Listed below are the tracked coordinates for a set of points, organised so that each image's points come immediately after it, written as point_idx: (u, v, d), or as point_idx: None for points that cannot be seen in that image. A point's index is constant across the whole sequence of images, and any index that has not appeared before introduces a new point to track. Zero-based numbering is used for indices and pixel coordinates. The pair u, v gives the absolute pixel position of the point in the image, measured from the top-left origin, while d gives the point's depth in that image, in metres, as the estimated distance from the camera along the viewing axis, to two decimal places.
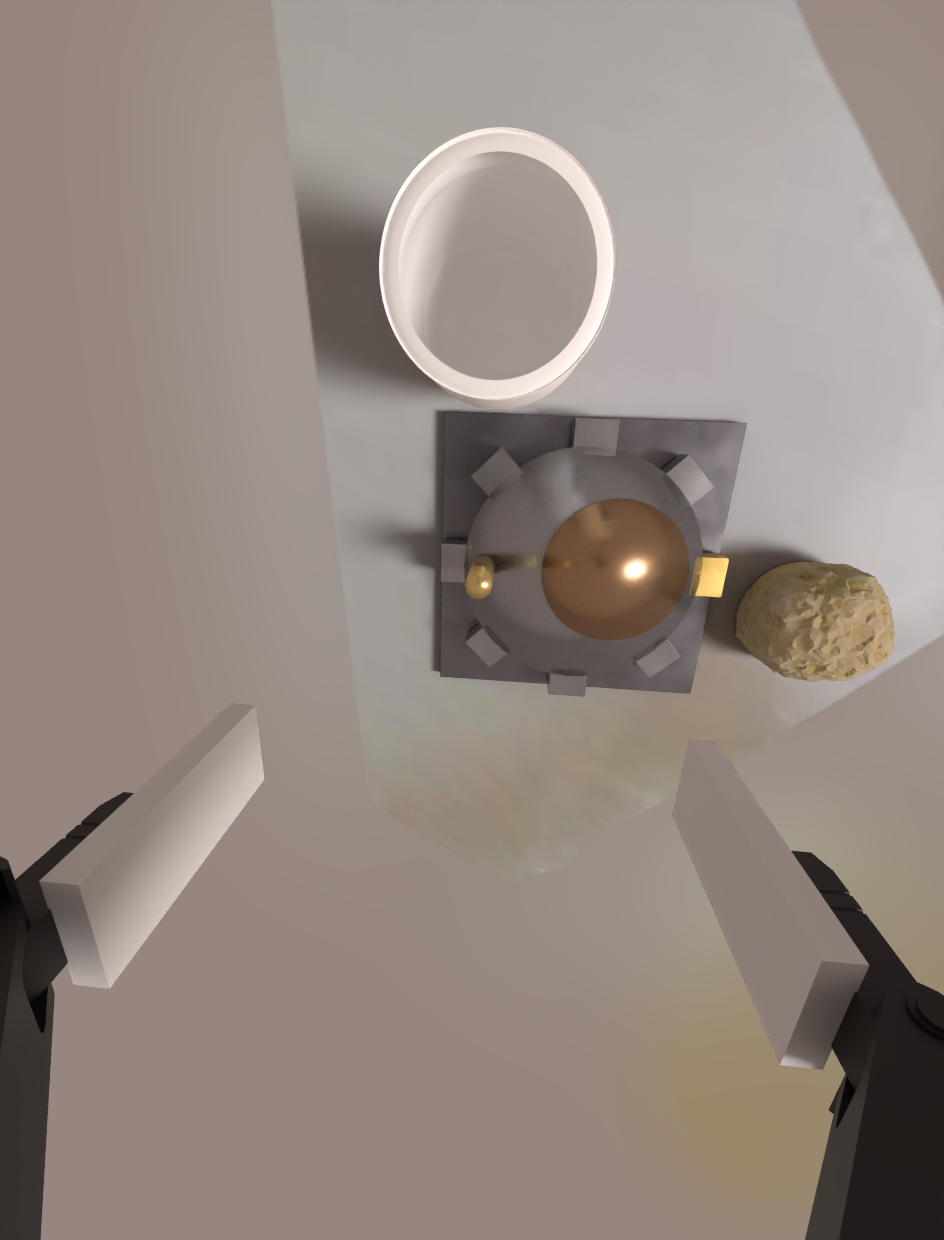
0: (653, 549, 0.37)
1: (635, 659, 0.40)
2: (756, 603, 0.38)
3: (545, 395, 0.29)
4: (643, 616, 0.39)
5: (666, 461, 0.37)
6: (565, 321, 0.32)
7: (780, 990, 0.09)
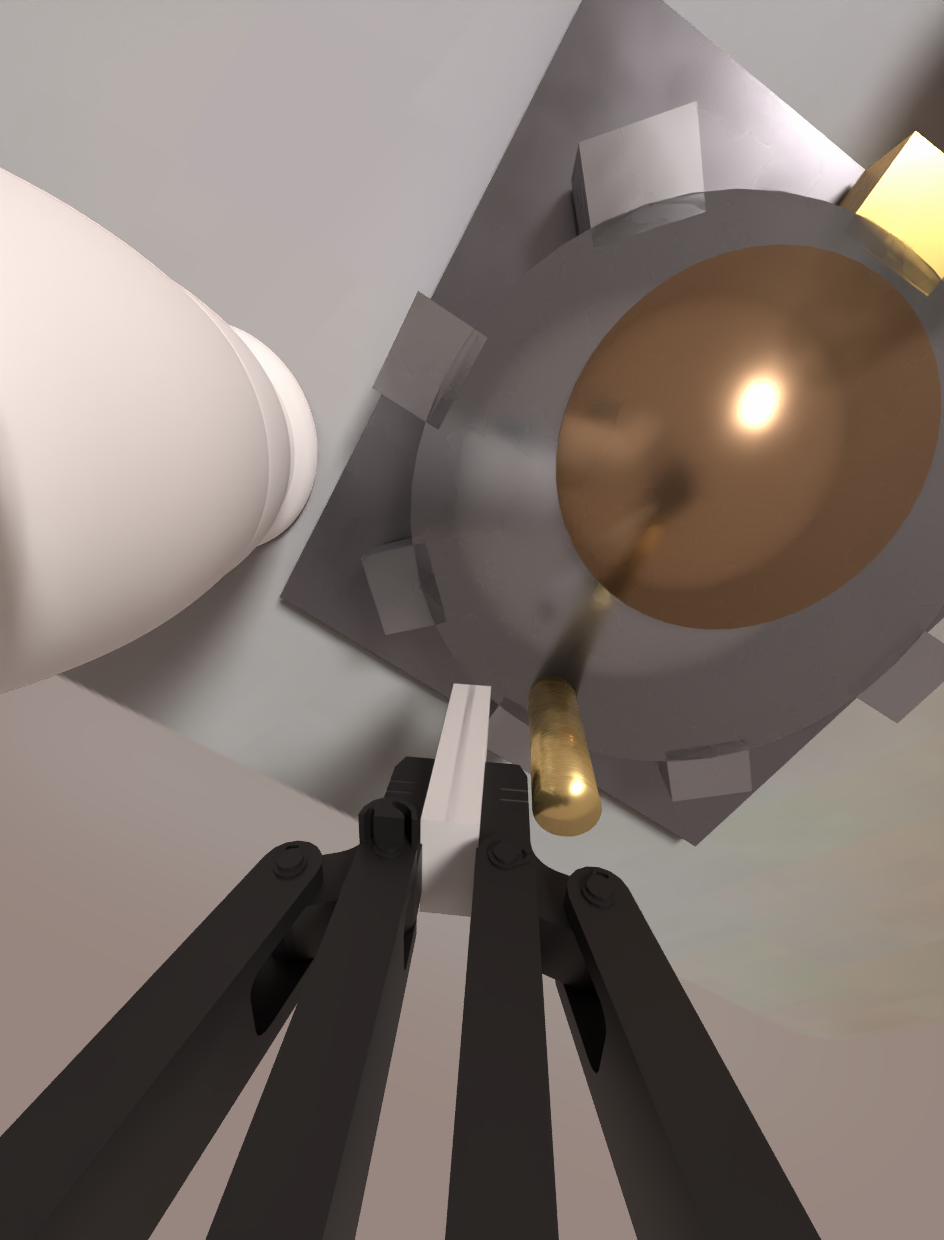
0: (747, 340, 0.14)
1: None
2: None
3: (206, 439, 0.11)
4: (892, 441, 0.15)
5: (576, 220, 0.16)
6: None
7: None
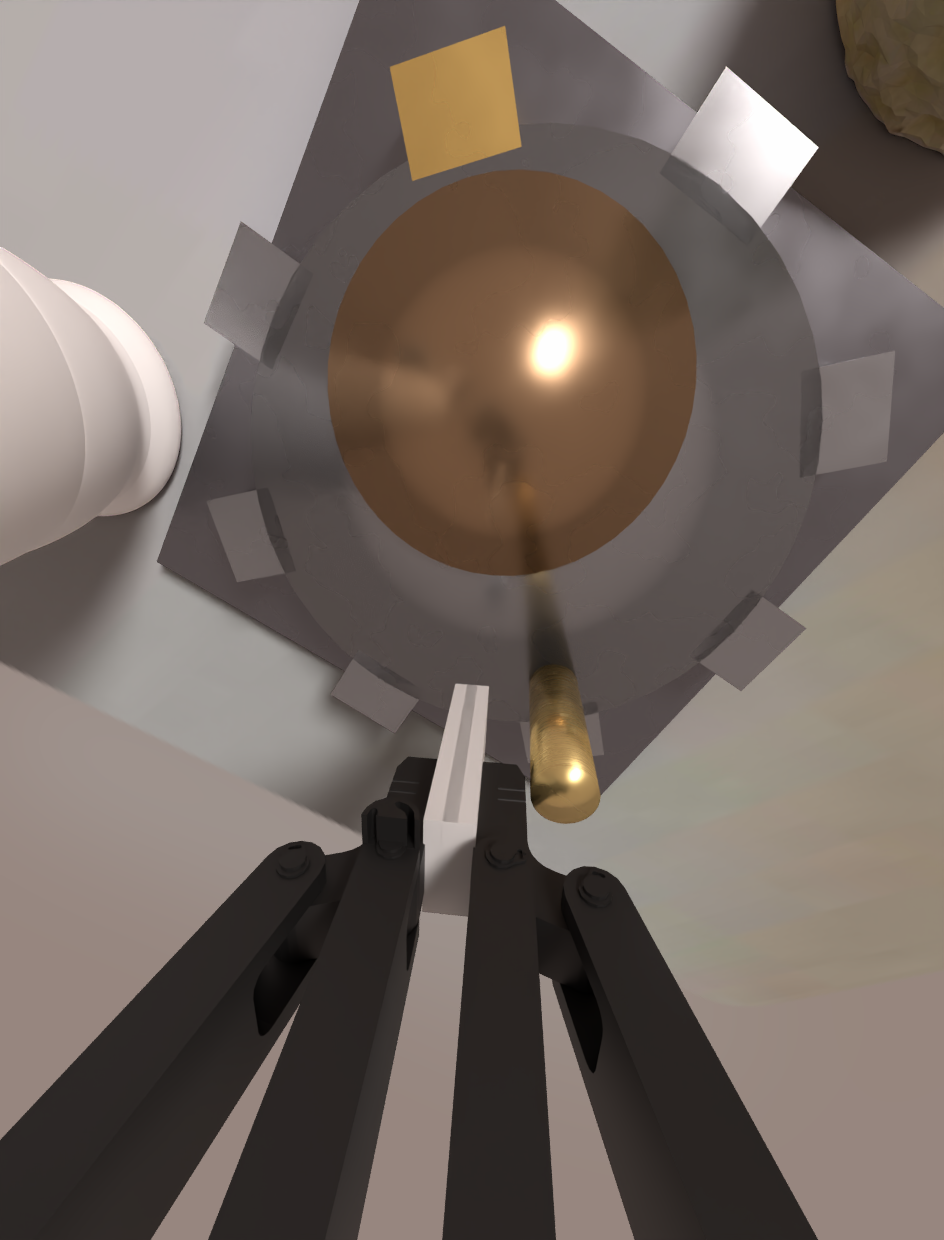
0: (422, 319, 0.14)
1: (752, 230, 0.13)
2: (912, 14, 0.11)
3: None
4: (608, 267, 0.13)
5: None
6: None
7: None
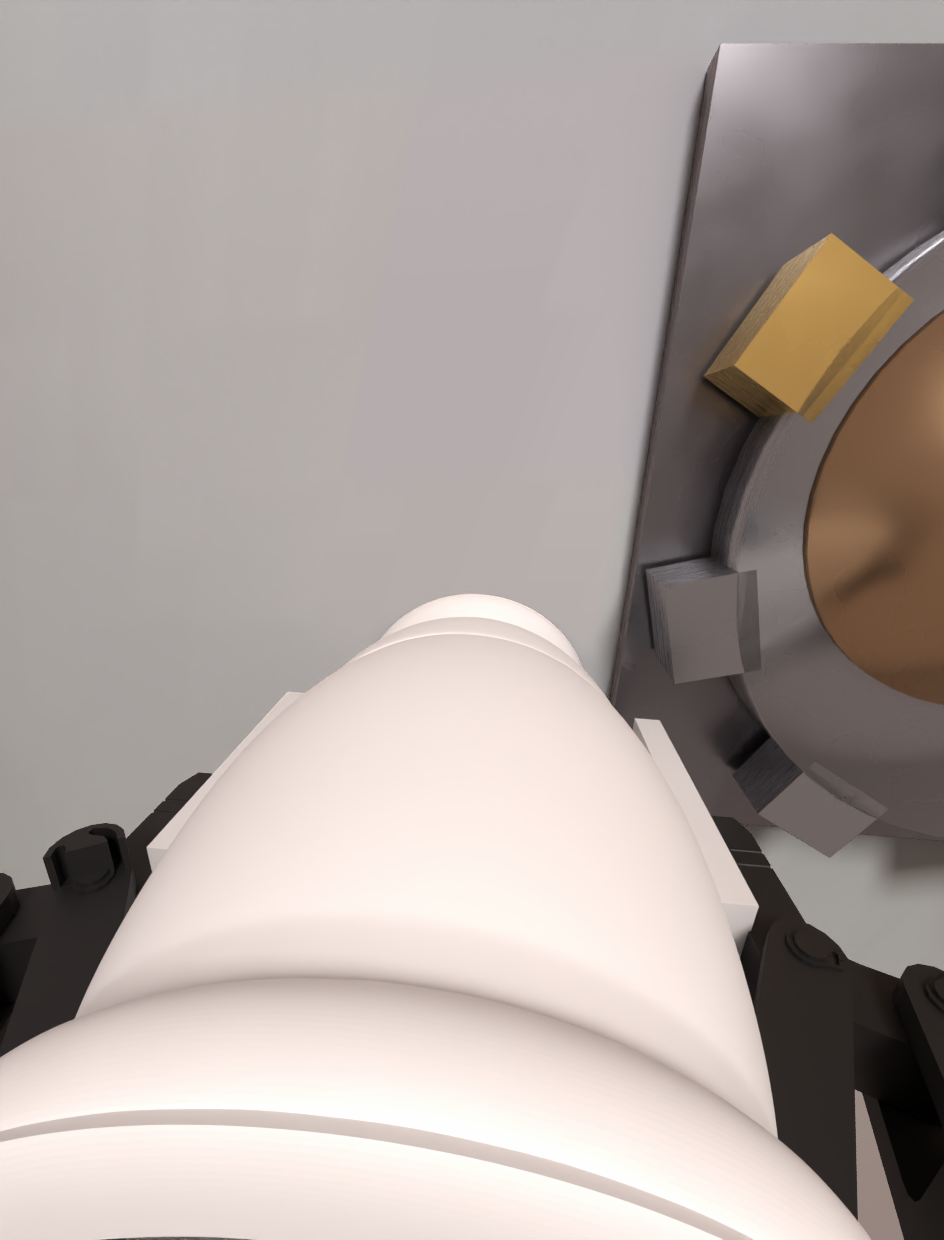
0: (907, 516, 0.12)
1: None
2: None
3: (689, 824, 0.09)
4: None
5: None
6: None
7: None
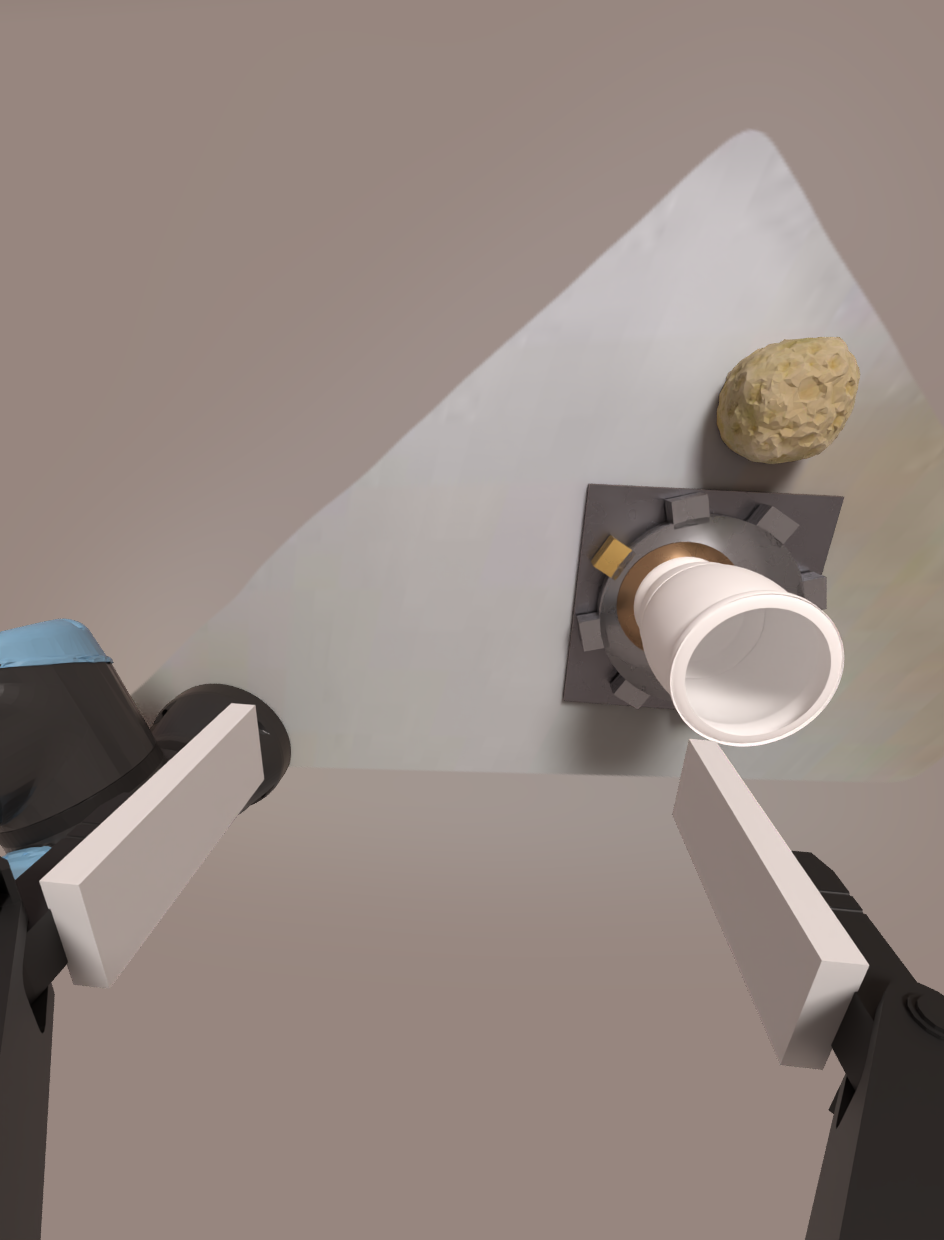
0: None
1: (708, 519, 0.42)
2: (755, 461, 0.41)
3: None
4: (680, 556, 0.43)
5: None
6: None
7: (780, 990, 0.09)
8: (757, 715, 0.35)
